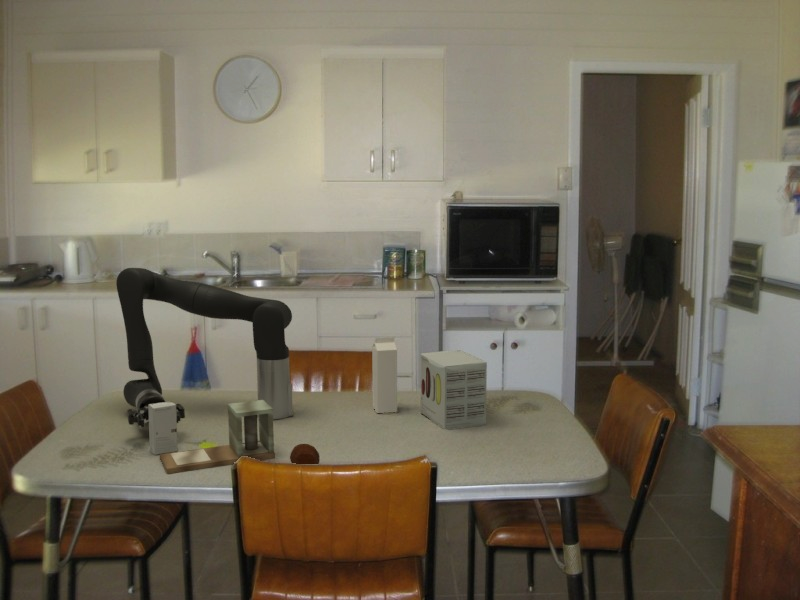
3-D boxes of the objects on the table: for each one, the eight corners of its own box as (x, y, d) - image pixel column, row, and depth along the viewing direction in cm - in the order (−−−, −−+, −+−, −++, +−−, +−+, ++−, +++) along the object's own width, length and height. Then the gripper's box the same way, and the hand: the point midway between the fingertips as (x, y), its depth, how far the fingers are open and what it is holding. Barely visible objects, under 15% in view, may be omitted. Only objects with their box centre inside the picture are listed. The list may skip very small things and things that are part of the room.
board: (263, 444, 213) (261, 398, 211) (275, 457, 203) (274, 409, 201) (159, 459, 202) (157, 411, 201) (167, 473, 193) (164, 423, 191)
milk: (397, 412, 242) (397, 338, 238) (377, 414, 240) (377, 340, 237) (391, 406, 247) (391, 334, 244) (372, 408, 246) (372, 335, 242)
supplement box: (419, 413, 241) (419, 353, 238) (460, 408, 246) (460, 349, 243) (443, 430, 225) (444, 365, 222) (487, 425, 230) (488, 361, 227)
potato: (289, 477, 190) (288, 450, 189) (290, 463, 199) (290, 438, 198) (319, 476, 191) (319, 449, 190) (319, 462, 200) (319, 437, 199)
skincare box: (154, 455, 205) (152, 408, 203) (149, 450, 209) (146, 404, 207) (178, 451, 208) (176, 404, 207) (173, 446, 212) (171, 400, 210)
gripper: (123, 395, 222) (130, 410, 208) (176, 389, 228) (187, 404, 213) (124, 421, 223) (131, 439, 209) (178, 415, 229) (188, 432, 215)
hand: (160, 421), depth 211 cm, fingers open, 8 cm apart
